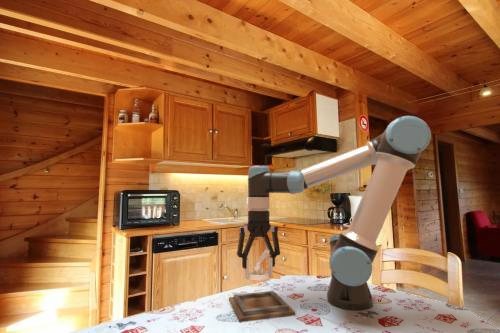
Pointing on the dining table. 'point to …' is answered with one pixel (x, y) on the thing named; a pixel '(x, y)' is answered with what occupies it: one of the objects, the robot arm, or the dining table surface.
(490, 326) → the dining table surface
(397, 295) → the dining table surface
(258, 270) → the hook
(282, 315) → the picture frame
